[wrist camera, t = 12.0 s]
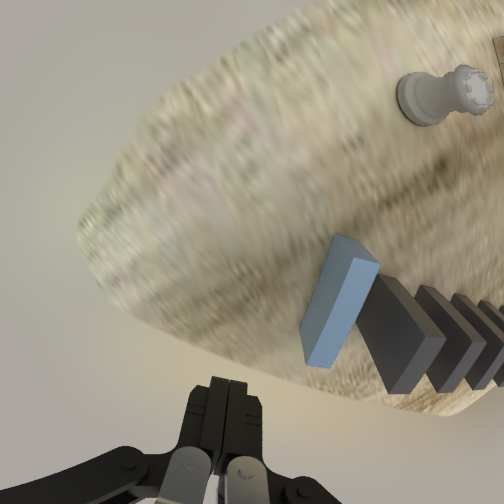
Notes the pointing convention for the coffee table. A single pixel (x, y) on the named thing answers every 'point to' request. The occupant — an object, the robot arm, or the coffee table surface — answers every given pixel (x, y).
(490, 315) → the domino
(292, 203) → the coffee table surface
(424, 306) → the domino
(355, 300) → the tile
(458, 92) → the rook chess piece
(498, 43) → the stack of blocks
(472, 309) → the domino
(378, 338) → the domino
